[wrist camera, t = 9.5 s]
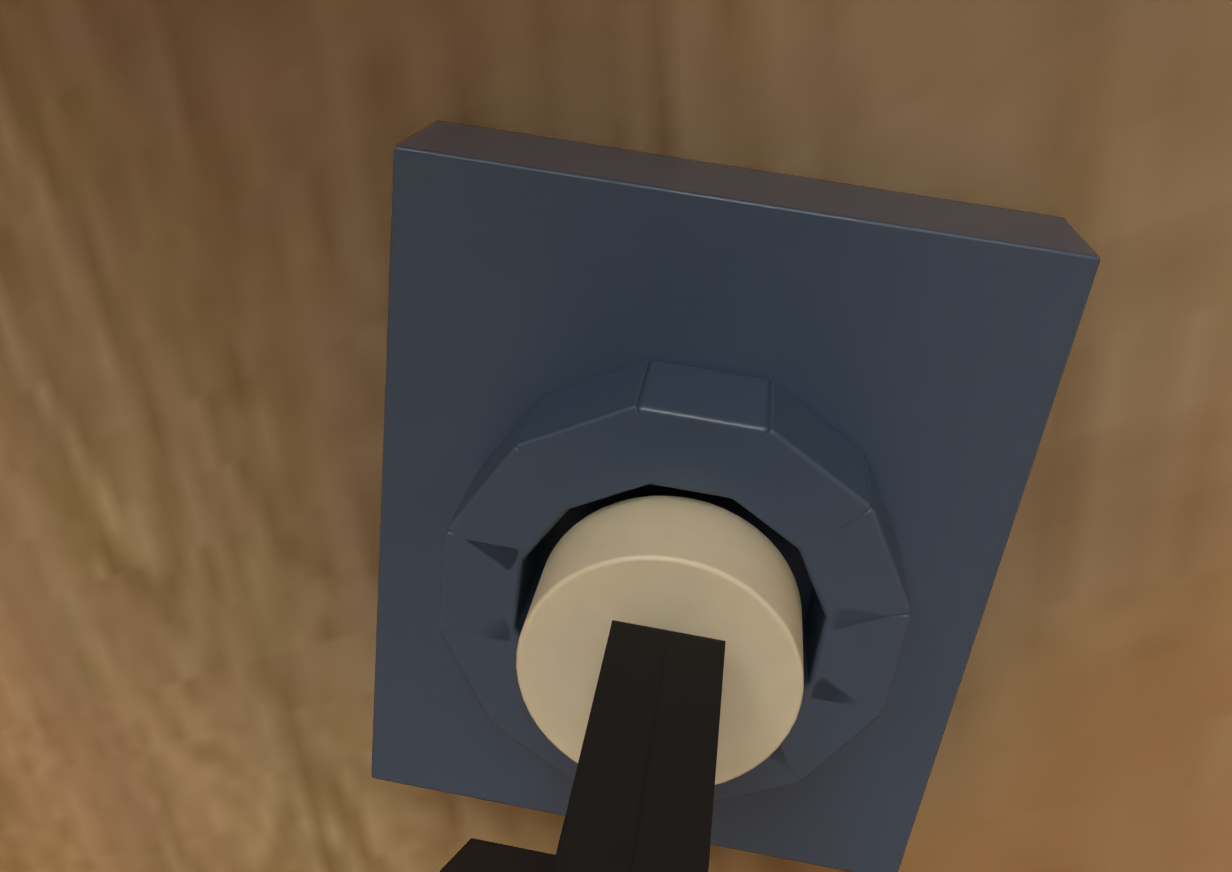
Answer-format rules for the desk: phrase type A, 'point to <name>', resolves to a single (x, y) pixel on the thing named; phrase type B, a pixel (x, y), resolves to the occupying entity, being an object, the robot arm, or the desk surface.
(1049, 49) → the desk surface
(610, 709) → the robot arm
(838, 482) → the button housing
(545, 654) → the button
